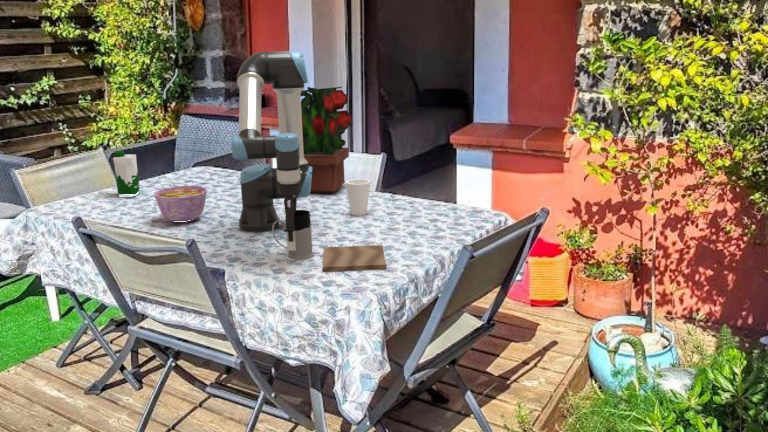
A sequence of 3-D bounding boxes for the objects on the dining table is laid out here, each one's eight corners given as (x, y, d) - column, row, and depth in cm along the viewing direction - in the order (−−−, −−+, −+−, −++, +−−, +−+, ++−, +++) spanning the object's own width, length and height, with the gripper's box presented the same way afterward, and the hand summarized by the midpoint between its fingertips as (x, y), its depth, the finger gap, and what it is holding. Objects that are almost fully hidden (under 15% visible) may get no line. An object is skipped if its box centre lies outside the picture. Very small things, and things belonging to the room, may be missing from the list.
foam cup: (367, 217, 304) (366, 184, 301) (344, 216, 306) (343, 184, 303) (372, 210, 313) (371, 179, 310) (350, 209, 315) (349, 178, 311)
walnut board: (322, 271, 246) (322, 267, 245) (323, 251, 265) (323, 247, 264) (386, 269, 247) (385, 264, 246) (382, 249, 266) (382, 245, 265)
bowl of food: (146, 225, 301) (143, 196, 298) (176, 211, 319) (174, 184, 316) (190, 229, 294) (188, 199, 291) (219, 215, 312) (216, 187, 309)
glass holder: (318, 256, 260) (316, 213, 256) (280, 265, 252) (278, 221, 248) (305, 250, 267) (303, 207, 263) (268, 258, 259) (265, 215, 255)
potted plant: (353, 185, 355) (350, 86, 343) (339, 197, 335) (335, 92, 322) (307, 183, 360) (302, 85, 348) (291, 195, 340) (285, 92, 327)
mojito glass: (122, 193, 351) (117, 149, 345) (142, 193, 350) (137, 149, 345) (115, 198, 342) (110, 153, 337) (136, 198, 342) (131, 153, 336)
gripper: (298, 190, 241) (302, 255, 247) (302, 172, 265) (305, 232, 270) (274, 191, 240) (278, 256, 246) (280, 173, 264) (284, 233, 270)
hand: (292, 243), depth 258 cm, fingers open, 13 cm apart
